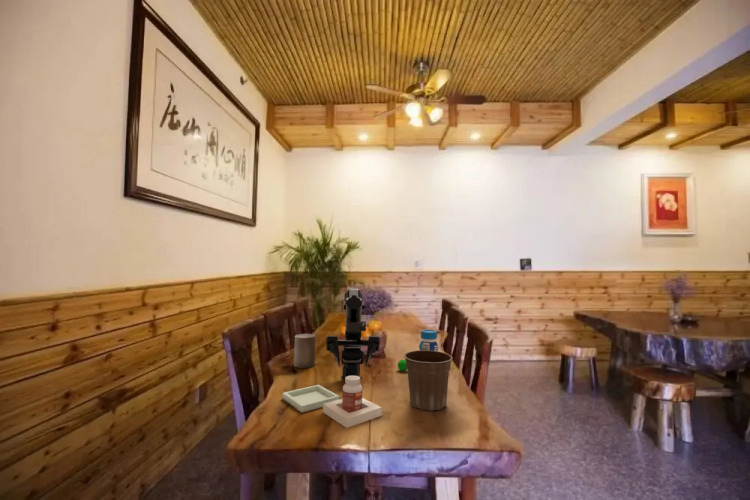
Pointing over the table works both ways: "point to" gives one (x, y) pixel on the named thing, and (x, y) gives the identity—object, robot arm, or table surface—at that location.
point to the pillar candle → (304, 350)
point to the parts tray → (309, 398)
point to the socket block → (352, 418)
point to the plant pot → (428, 378)
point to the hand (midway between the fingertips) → (352, 365)
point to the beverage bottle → (428, 340)
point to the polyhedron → (402, 365)
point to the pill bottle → (352, 394)
